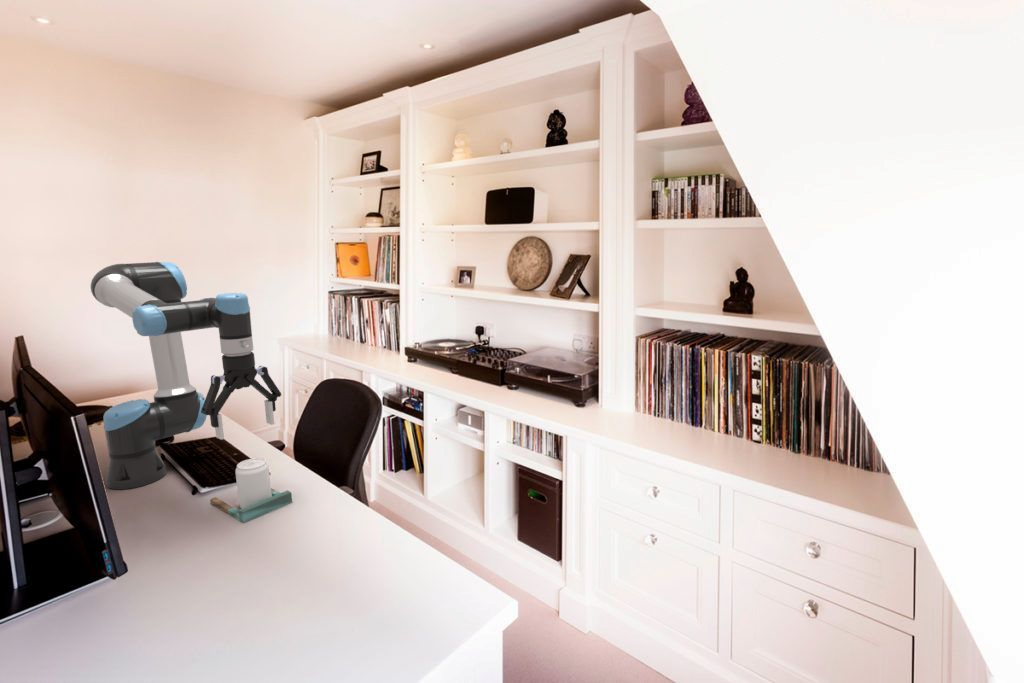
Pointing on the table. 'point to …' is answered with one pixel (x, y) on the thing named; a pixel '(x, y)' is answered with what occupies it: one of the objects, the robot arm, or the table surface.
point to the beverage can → (253, 481)
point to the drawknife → (255, 506)
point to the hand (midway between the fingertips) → (246, 430)
